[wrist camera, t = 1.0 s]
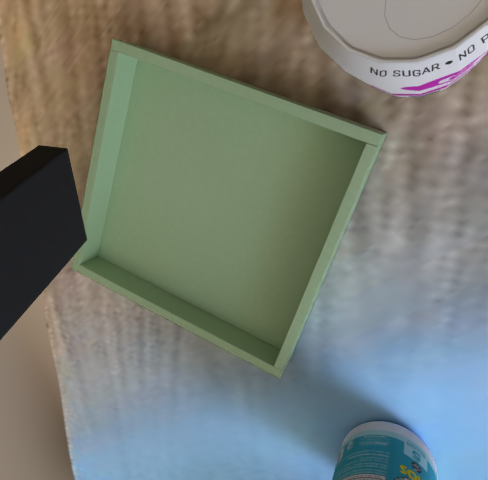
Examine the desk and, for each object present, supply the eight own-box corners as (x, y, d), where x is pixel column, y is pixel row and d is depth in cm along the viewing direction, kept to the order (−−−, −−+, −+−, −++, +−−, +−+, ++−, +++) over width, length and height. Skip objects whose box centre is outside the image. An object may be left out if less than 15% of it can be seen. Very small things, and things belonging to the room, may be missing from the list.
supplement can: (521, 34, 26) (627, -54, 12) (397, 124, 30) (374, 131, 16) (440, -79, 26) (458, -287, 13) (326, 25, 30) (245, -50, 16)
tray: (136, 44, 35) (111, 38, 32) (387, 132, 30) (383, 134, 27) (94, 258, 42) (70, 268, 39) (290, 359, 37) (279, 379, 34)
